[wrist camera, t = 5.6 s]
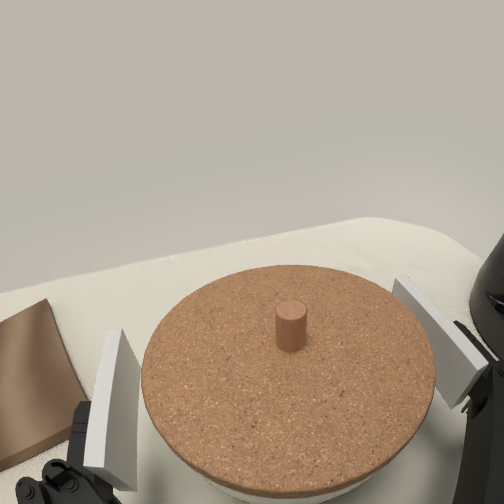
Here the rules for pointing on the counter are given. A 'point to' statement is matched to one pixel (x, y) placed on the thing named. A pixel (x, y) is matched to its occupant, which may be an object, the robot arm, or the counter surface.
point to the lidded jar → (288, 382)
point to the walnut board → (34, 385)
